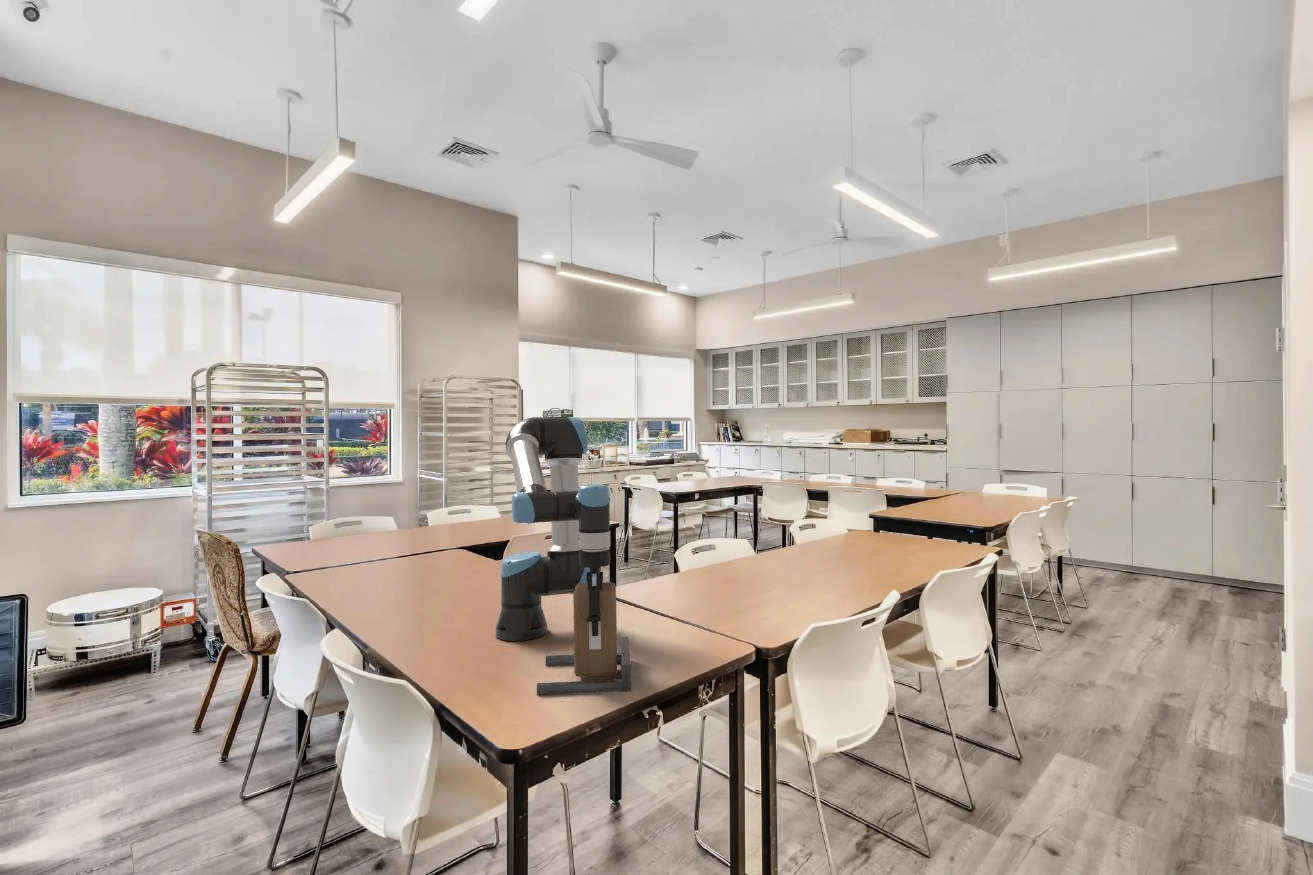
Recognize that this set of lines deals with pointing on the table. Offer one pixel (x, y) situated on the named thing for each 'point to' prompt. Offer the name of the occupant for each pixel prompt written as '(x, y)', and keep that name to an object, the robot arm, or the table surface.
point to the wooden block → (606, 657)
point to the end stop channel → (589, 686)
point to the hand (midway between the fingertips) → (595, 641)
